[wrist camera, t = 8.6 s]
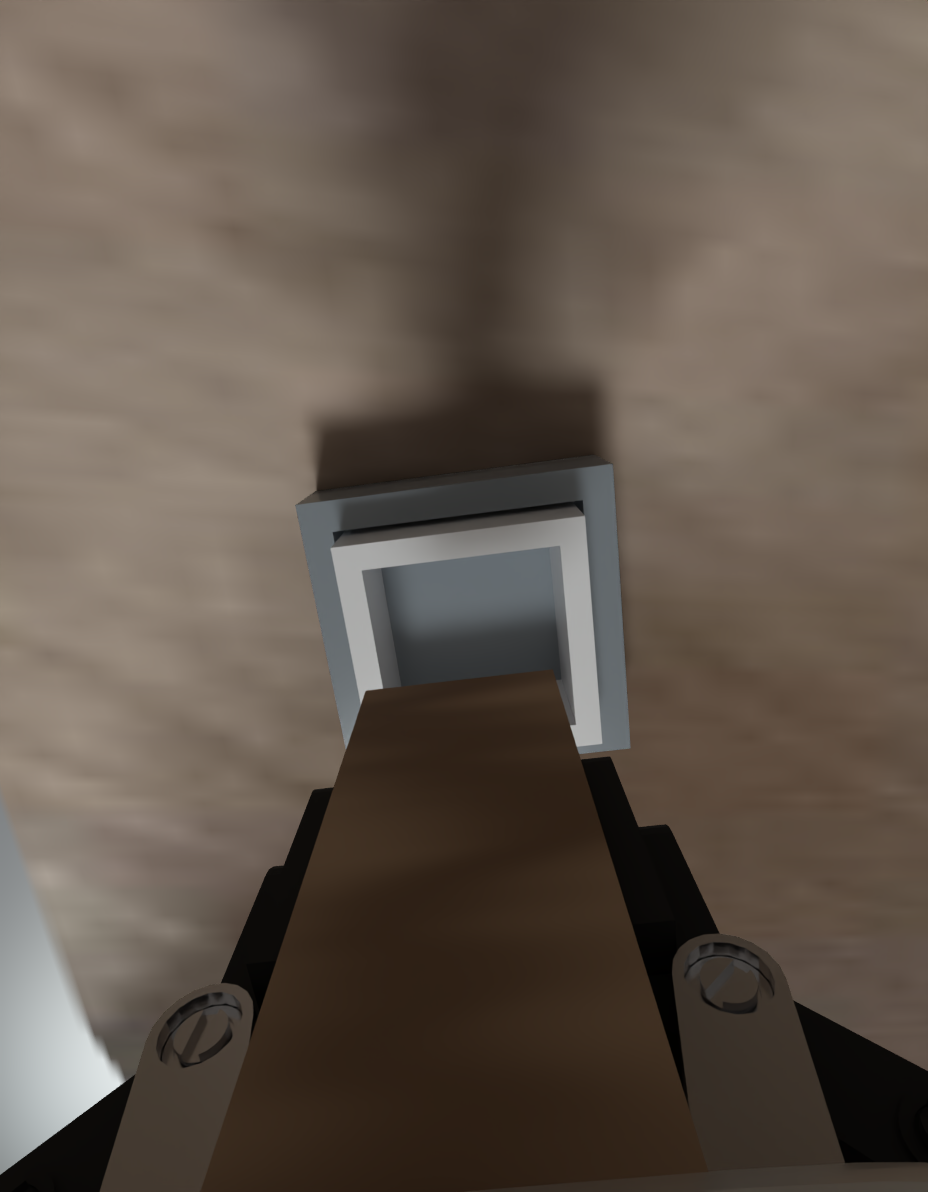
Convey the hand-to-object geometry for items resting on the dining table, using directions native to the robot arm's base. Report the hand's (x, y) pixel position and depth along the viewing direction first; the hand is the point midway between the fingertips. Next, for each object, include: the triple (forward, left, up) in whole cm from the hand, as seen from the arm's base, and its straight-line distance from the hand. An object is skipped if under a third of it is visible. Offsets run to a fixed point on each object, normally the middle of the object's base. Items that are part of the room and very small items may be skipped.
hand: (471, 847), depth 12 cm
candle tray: (0, 0, -14) cm, 14 cm away
